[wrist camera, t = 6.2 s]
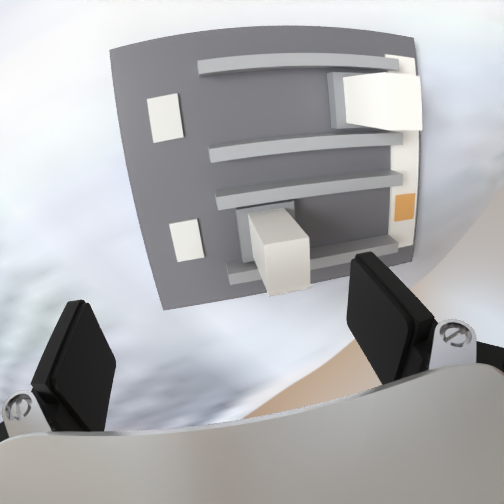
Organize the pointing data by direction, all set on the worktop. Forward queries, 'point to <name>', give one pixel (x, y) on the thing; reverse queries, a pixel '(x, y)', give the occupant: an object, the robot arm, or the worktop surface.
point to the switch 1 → (275, 245)
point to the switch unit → (260, 152)
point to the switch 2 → (375, 100)
